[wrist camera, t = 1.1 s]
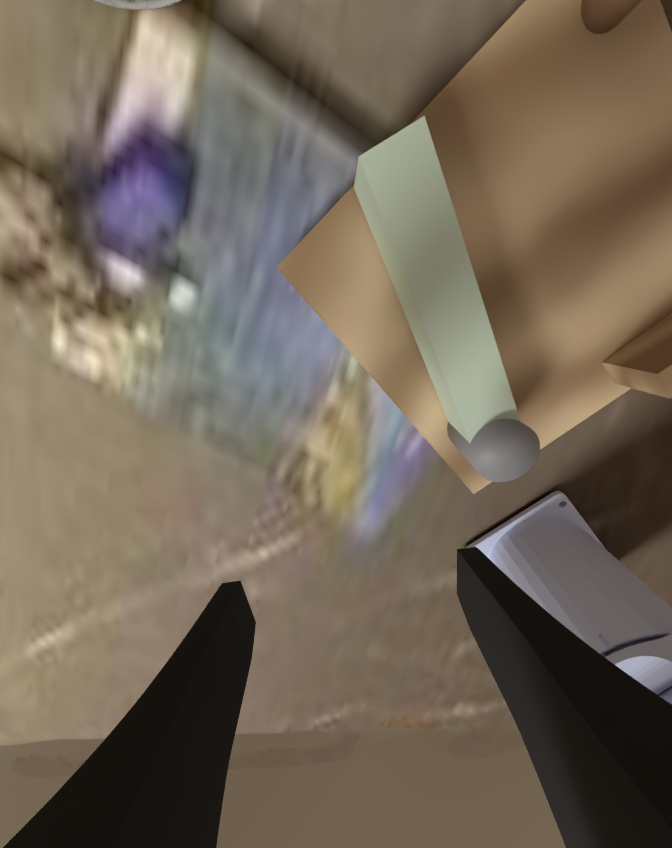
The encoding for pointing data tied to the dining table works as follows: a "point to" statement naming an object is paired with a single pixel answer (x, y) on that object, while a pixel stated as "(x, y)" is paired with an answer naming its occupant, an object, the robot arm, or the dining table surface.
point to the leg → (443, 300)
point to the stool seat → (533, 221)
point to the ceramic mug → (139, 4)
